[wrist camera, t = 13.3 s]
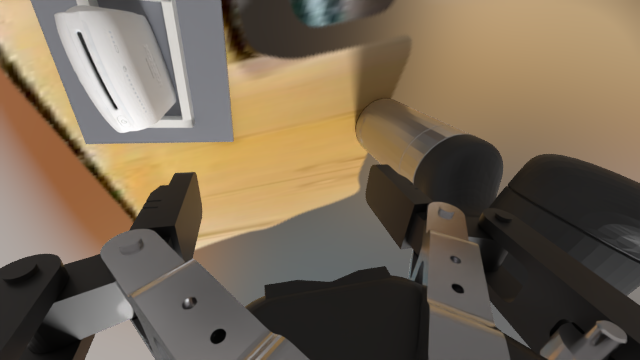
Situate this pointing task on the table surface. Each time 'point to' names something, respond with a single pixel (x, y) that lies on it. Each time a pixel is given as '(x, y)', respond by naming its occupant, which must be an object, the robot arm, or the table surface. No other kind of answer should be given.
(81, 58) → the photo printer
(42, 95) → the table surface
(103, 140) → the dock
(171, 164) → the table surface
